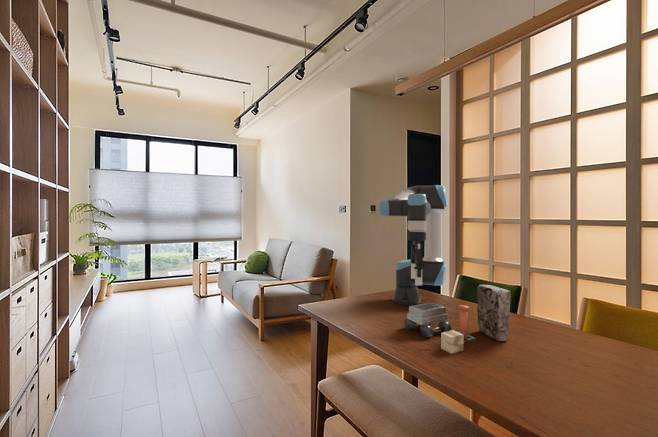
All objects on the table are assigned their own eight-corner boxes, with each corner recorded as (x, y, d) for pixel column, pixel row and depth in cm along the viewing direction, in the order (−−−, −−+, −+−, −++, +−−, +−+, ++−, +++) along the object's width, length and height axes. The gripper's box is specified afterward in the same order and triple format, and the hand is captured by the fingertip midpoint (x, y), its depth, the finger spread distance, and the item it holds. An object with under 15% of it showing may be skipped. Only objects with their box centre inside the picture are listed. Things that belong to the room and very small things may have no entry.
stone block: (512, 340, 134) (512, 290, 133) (498, 342, 131) (499, 291, 131) (486, 329, 146) (486, 283, 145) (473, 331, 144) (473, 284, 143)
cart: (427, 323, 154) (427, 300, 153) (452, 334, 140) (453, 309, 140) (402, 328, 147) (402, 304, 147) (427, 340, 134) (427, 314, 134)
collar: (462, 334, 140) (462, 332, 140) (475, 339, 134) (475, 337, 134) (451, 337, 137) (451, 335, 137) (464, 342, 131) (464, 340, 131)
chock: (452, 345, 129) (453, 330, 129) (463, 350, 124) (463, 334, 124) (441, 348, 126) (441, 332, 126) (451, 353, 122) (451, 337, 121)
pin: (462, 336, 138) (463, 304, 138) (471, 339, 135) (471, 307, 134) (455, 337, 136) (456, 305, 136) (463, 341, 133) (464, 308, 132)
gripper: (404, 229, 154) (404, 275, 154) (411, 232, 129) (410, 288, 130) (421, 229, 153) (421, 276, 153) (431, 232, 128) (430, 288, 129)
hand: (416, 281), depth 141 cm, fingers open, 13 cm apart
